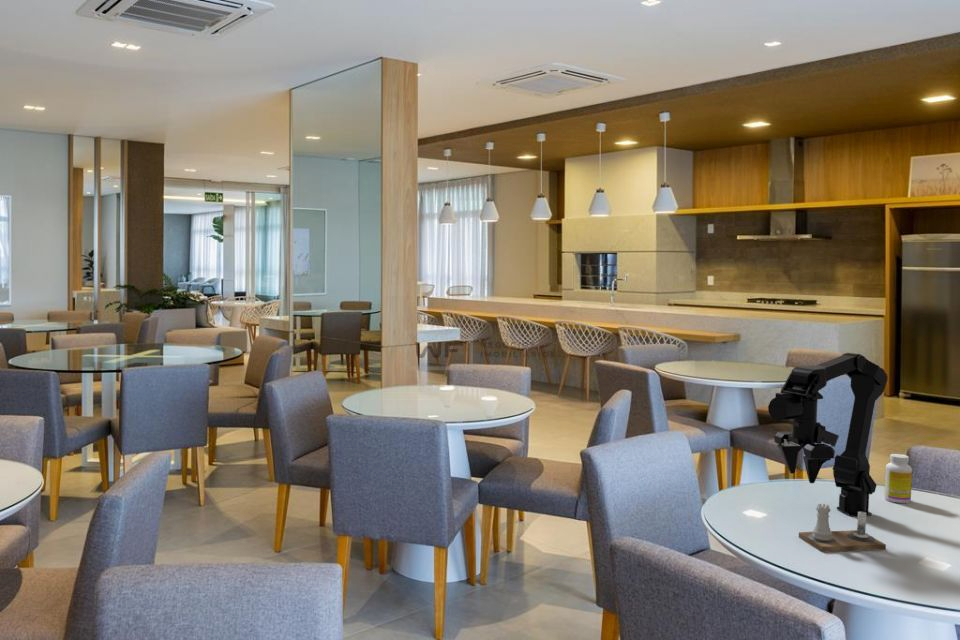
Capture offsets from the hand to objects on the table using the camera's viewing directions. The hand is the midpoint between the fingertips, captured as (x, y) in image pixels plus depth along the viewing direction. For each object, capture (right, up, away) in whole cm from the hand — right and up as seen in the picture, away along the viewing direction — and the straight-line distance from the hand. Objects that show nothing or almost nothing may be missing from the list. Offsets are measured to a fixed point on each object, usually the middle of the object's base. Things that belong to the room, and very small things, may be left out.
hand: (802, 478), depth 203 cm
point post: (+9, -12, -12) cm, 19 cm away
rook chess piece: (-1, -12, -13) cm, 18 cm away
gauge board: (+4, -13, -13) cm, 19 cm away
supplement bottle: (+36, -11, +23) cm, 44 cm away
